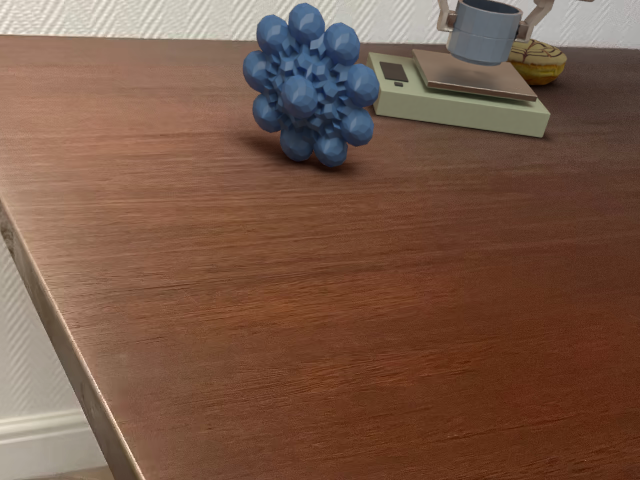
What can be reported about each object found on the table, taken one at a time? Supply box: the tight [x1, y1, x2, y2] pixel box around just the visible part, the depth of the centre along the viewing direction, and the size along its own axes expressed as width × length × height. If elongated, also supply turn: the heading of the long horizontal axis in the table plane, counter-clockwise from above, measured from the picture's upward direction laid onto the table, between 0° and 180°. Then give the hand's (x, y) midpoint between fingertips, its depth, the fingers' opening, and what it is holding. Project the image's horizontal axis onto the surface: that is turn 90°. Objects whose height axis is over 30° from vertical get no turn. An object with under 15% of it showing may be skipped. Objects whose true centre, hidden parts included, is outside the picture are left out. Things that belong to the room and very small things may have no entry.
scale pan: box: [410, 48, 538, 102], centre depth 84 cm, size 11×12×1 cm
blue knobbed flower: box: [242, 2, 380, 168], centre depth 64 cm, size 12×7×12 cm, turn 67°
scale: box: [365, 51, 551, 138], centre depth 86 cm, size 17×14×3 cm
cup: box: [445, 0, 524, 66], centre depth 82 cm, size 6×6×5 cm
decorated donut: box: [506, 38, 568, 86], centre depth 98 cm, size 10×11×4 cm
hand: (481, 36), depth 82 cm, fingers closed on cup, 6 cm apart
